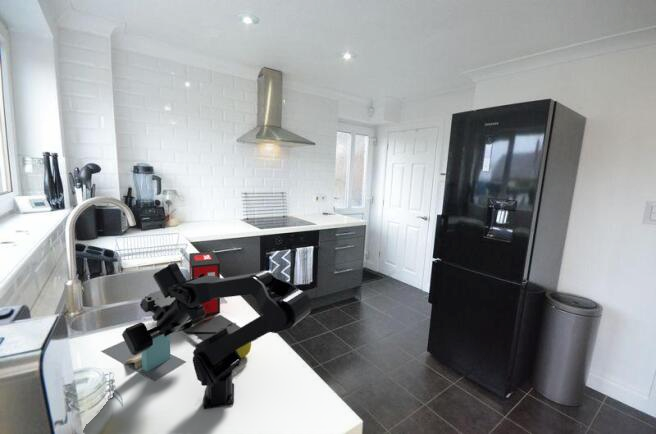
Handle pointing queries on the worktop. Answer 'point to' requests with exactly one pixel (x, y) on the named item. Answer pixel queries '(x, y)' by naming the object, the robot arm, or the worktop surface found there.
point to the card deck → (156, 352)
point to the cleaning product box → (202, 267)
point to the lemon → (244, 350)
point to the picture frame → (211, 327)
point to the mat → (124, 354)
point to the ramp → (136, 361)
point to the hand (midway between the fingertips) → (153, 339)
